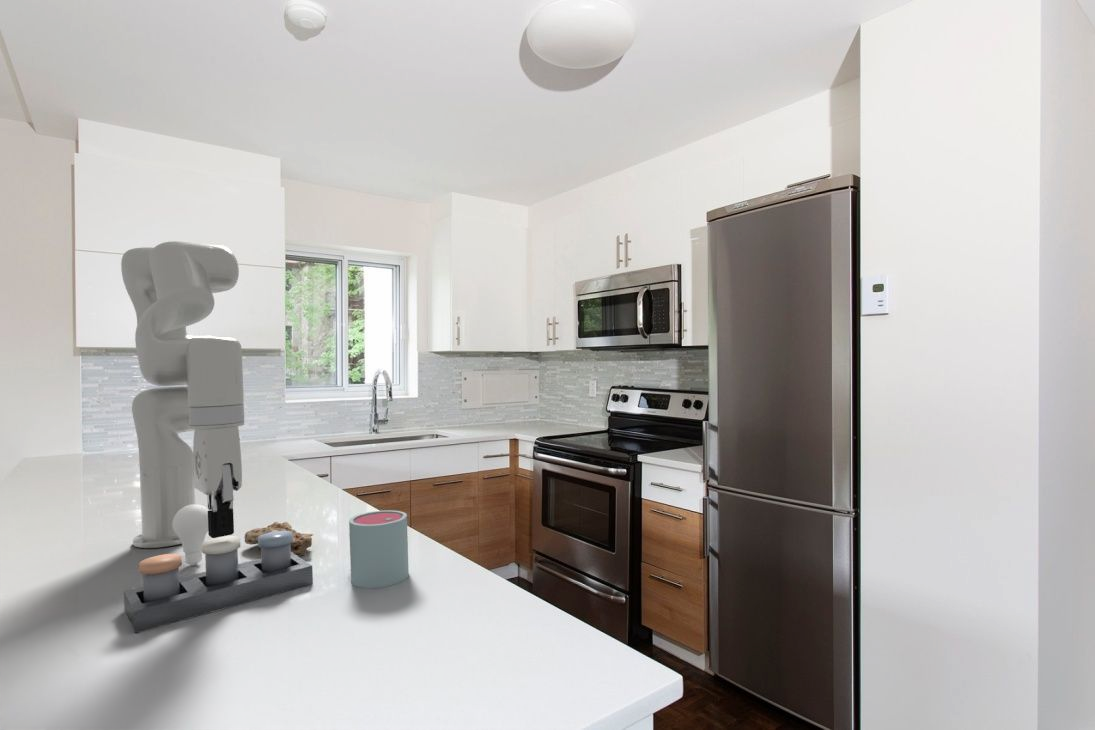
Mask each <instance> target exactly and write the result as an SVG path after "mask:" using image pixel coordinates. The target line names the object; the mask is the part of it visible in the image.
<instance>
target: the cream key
mask: <svg viewBox="0 0 1095 730" xmlns="http://www.w3.org/2000/svg"><path fill="white" fill-rule="evenodd" d="M239 548H241V537H240V536H237V535H227V536H222V537H217V538H210V539H207V540H204V542H203V543H202V554H203V555H204V557H205V558H204V559H205V560H204V561H205V572H206V584H207V585H208V586H215V585H219V584H223V583H227V582H231V581H235V580H238V578H239V576H238V564H239V553H238V552H239V550H238V549H239Z"/></svg>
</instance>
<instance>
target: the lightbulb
mask: <svg viewBox="0 0 1095 730" xmlns="http://www.w3.org/2000/svg"><path fill="white" fill-rule="evenodd" d="M208 511H210V510H208V507H206V506H204V505H203V504H202V505H201V504H198V503H197V504H196V503H195V504H191V505H188V506H185V507H183V508H181V509H180V510H179V511H178V512H177V513H176V515H175V516H174V519H173V523H172V526H173V529H174V531H175V533H176V534H177V536H178V537H179V538H180V540H181V542H182V544H181V545H182V552H183V553H184V559H185V563H186V564H187V565H190V566H192V567H193V566H196V565H198V564H199V563H200V562H201V561H202V559H203V553H202V543H203V542H205V539H206V535H207V534H208Z"/></svg>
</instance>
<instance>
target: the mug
mask: <svg viewBox="0 0 1095 730" xmlns="http://www.w3.org/2000/svg"><path fill="white" fill-rule="evenodd" d="M407 517H408V514H407V513H406V512H405V511H400V510H394V509H393V510H392V509H391V510H388V509H387V510H385V509H384V510H375V511H368V512H364V513H360V514H357V515H354V516H352V517H350V518H349V521H348V524H349V525H348V526H349V528H348V529H349V531H348V533H349V535H348V536H349V552H350V553H349V554H350V555H349V558H350V561H349V562H350V582H351V584H352V586H355V587H357V588H361V589H379V588H385V587H390V586H393V585H397V584H399V583H401V582H403V581H406V579H407V578H408V577H409V546H408V545H409V544H408V543H409V541H408V540H409V539H408V538H409V537H408V518H407Z"/></svg>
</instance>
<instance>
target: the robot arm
mask: <svg viewBox="0 0 1095 730" xmlns="http://www.w3.org/2000/svg"><path fill="white" fill-rule="evenodd" d="M120 265H121V266H120V267H121V269H120V271H121V276H122V280H123V283H124V286H125V290H126V292H127V294H128V297H129V298H130V302H132V305H133V307H134V308H133V309H134V311H135V314H136V328H135V329H136V330H135V335H134V336H135V338H134V341H135V349H136V353H137V360H138V364H139V369H140V373H141V374H142V377H143V378H144V380H145V381H146V382H148V383H149V384H152V385H153V386H159V387H155V388H149V389H146V390H143V391H140V392H139V393H138V394H136V395H135V397H134V398H133V400H132V403H131V404H132V405H131V414H132V419H133V424H134V426H135V427H134V428H135V432H136V437H137V438H136V439H137V445H138V447H137V449H138V461H139V464H138V465H139V481H140V482H139V483H140V484H139V486H140V511H141V514H140V515H141V533H139V534H137V535H136V536H135V537H133V539H132V545H133V546H134V547H136V548H141V549H142V548H143V549H155V548H156V549H158V548H159V549H160V548H165V547H166V548H167V547H172V546H178V545H182V542H181V540H180V538H179V537H178V536H177V534H176V533H175V531H174V529H173V526H172V523H173V519H174V516H175V515H176V513H177V512H178V511H179V510H180V509H181V508H183V507H185V506H188V505H191V504H196V490H198V491H199V492H201V493H203V494H204V495H206V500H207V509H208V510H209V511H208V532H207V534H208V536H209V537H210V539H213V538H218V537H224V536H233V534H234V533H235V527H234V526H235V521H234V518H235V517H234V491H236V492H237V491H239V490H240V489H241V488H242V484H243V472H242V471H243V467H242V466H243V465H242V449H241V439H240V438H241V437H240V432H239V431H240V430H239V427H240V426H242V427H243V426H245V404H244V402H245V401H244V400H245V399H244V397H245V396H244V376H243V370H244V369H243V349H242V345H241V343H240V341H239V340H238V339H236V338H234V337H233V338H232V337H225V336H224V337H221V336H220V337H217V336H213V335H204V334H203V335H199V334H198V335H196V334H195V335H190V334H188V332H187V327H188V326H191V325H194V324H197V323H199V322H201V321H203V320H205V319H206V318H208V317H209V316H210V314H212V313H213V310H214V308H215V298H214V295H213V294H216V293H217V294H218V293H222V292H226V291H230V290H231V289H233V288H234V287H235V286H236V284H237V283H238V281H239V280H238V279H239V273H240V269H239V264H238V259H237V258H236V256H235V254H234V253H233V251H232V250H230V249H229V248H228V247H226V246H224V245H220V244H219V245H218V244H209V243H200V242H198V243H197V242H190V241H189V242H188V241H187V242H186V241H176V240H175V241H172V240H171V241H164V242H161V243H158V244H157V245H155V246H154V247H151V246H150V247H145V246H143V247H135V248H130V249H128V250H126V251H125V252H124V253H123V254H122V257H121V263H120ZM165 386H166V387H165ZM186 432H194V433H193V445H192V446H193V447H192V448H193V450H192V448H191V447H190V445H189V444H188V443H186V441H185V440H183V439H182V438H181V437H180V436H179V434H181V433H186Z"/></svg>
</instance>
